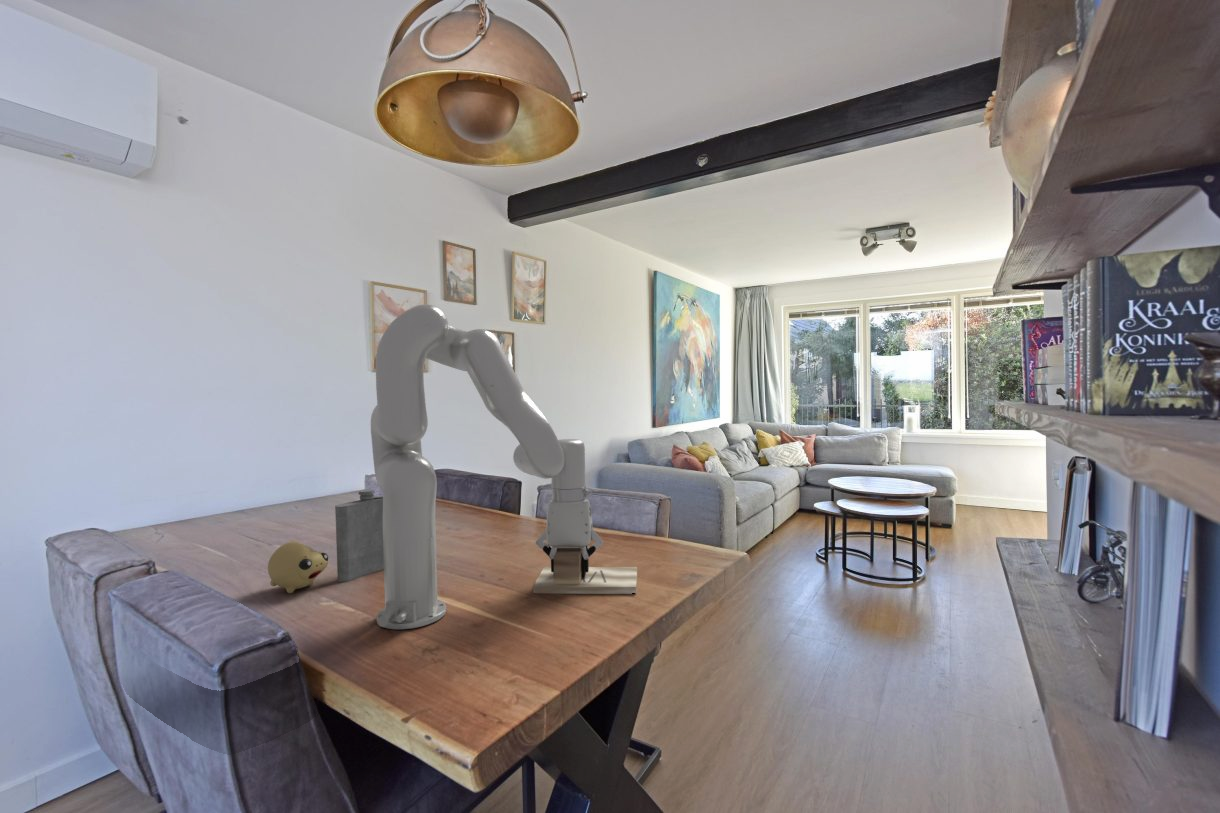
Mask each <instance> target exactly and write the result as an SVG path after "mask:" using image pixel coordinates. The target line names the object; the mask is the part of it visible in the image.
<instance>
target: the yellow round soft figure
mask: <svg viewBox="0 0 1220 813" xmlns="http://www.w3.org/2000/svg"><path fill="white" fill-rule="evenodd" d="M267 563H268V564H267V572H268V576H269V578H270V581H269V582H270V583H269V584H270V586H272V587H276V586H278V587H280V588H283V589H286V592H287V594H293V593H294V592H295V590H299V589H302V588H305V587H307V586H308V587H312V585H313V584H314V581H315V580H316V579H317V577H318V576H319V575H320V574H321V573H323V572H324V571H325V569H326V568H327V567H328V564H329V555H328V554H327V553H325V552H322V551H316V550H314V549H313V548H312V547H310V546H308V545H307V544H304V543H302V542H299V541H295V540H291V541H287V542H285V543H283V544H282V545H280V546H279V547H278V548H277V549H276V550H275V551H274V552H273V553H272V555H271V556H270V557H269V560H268V562H267Z"/></svg>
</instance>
